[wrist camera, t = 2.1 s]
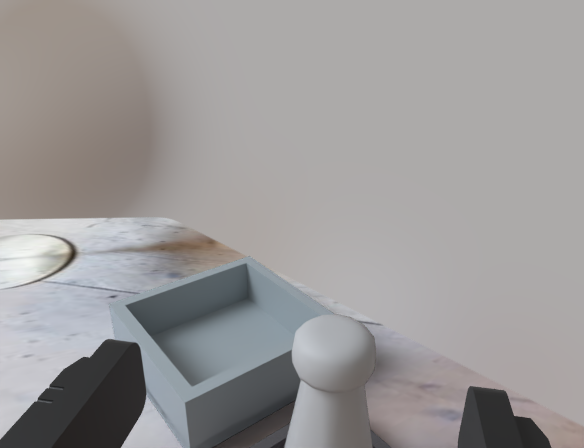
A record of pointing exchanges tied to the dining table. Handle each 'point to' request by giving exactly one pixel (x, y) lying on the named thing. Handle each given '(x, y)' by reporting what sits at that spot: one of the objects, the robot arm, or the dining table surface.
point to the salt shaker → (332, 384)
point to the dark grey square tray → (276, 442)
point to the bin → (217, 347)
